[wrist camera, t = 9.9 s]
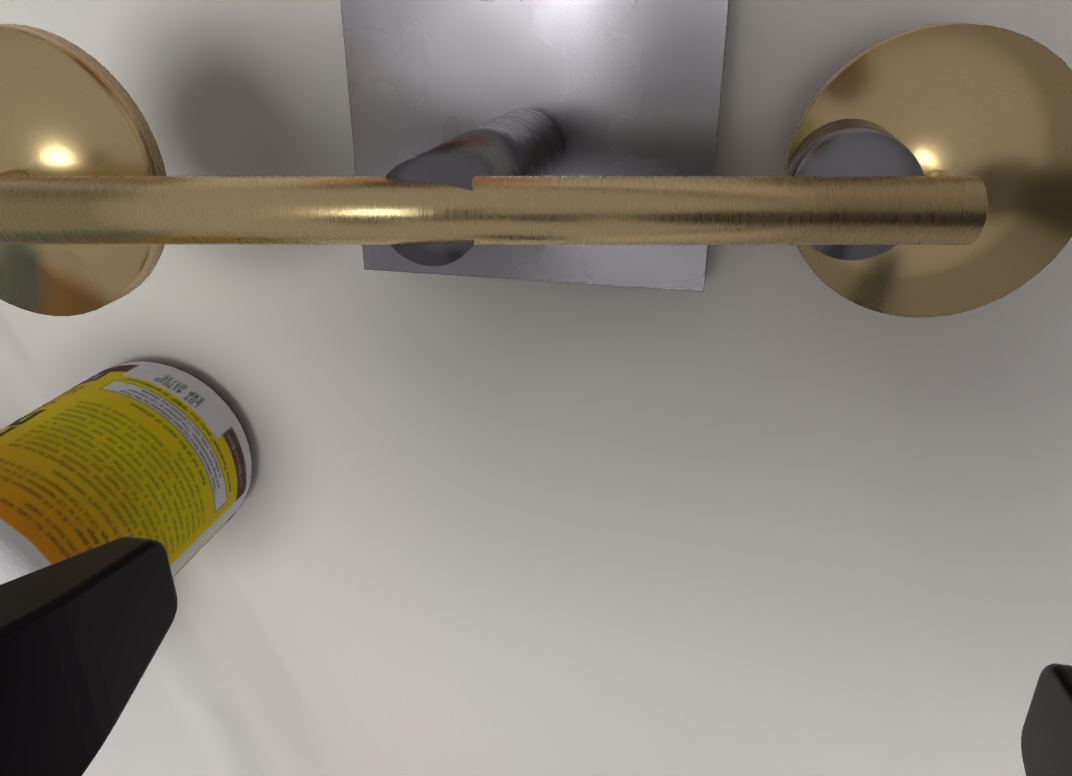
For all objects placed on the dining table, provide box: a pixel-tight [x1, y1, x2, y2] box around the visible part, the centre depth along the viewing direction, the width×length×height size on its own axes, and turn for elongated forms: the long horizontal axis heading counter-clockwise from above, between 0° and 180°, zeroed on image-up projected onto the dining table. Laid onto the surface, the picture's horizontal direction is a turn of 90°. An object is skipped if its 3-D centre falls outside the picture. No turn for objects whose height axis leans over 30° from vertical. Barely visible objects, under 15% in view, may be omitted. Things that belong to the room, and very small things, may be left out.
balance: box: [0, 0, 1072, 317], centre depth 15 cm, size 21×6×10 cm, turn 90°
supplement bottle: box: [0, 362, 252, 585], centre depth 20 cm, size 6×6×10 cm
